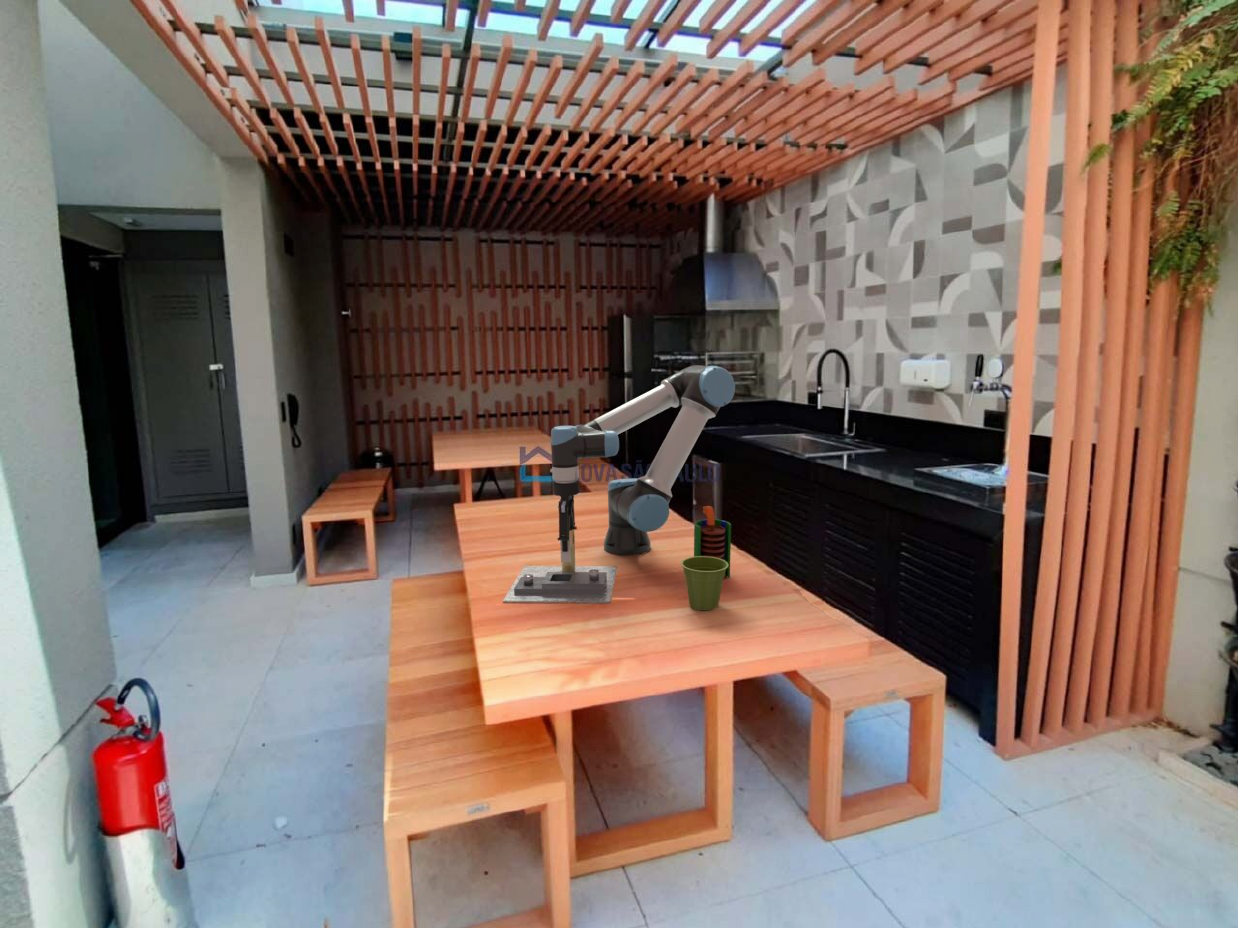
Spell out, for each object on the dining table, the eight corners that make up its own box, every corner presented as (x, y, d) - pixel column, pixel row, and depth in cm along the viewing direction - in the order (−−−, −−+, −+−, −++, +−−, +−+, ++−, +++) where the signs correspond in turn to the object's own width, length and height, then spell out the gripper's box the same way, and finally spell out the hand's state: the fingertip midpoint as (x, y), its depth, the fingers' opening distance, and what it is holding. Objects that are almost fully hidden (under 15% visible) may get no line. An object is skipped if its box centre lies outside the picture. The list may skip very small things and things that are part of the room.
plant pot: (716, 618, 159) (716, 574, 157) (672, 609, 165) (672, 566, 163) (735, 602, 169) (735, 560, 167) (693, 593, 175) (693, 553, 173)
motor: (704, 584, 181) (705, 514, 178) (686, 575, 189) (686, 507, 185) (734, 578, 186) (735, 509, 182) (715, 568, 194) (716, 502, 190)
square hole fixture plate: (617, 567, 196) (617, 550, 195) (610, 603, 170) (609, 582, 169) (524, 567, 198) (523, 549, 197) (502, 602, 171) (501, 582, 170)
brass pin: (576, 568, 195) (575, 529, 193) (574, 572, 191) (573, 533, 189) (562, 568, 195) (561, 529, 193) (560, 572, 191) (559, 533, 189)
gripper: (558, 473, 199) (560, 545, 203) (546, 488, 178) (549, 568, 182) (583, 473, 198) (585, 545, 202) (573, 488, 177) (576, 568, 182)
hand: (568, 556), depth 192 cm, fingers open, 8 cm apart
